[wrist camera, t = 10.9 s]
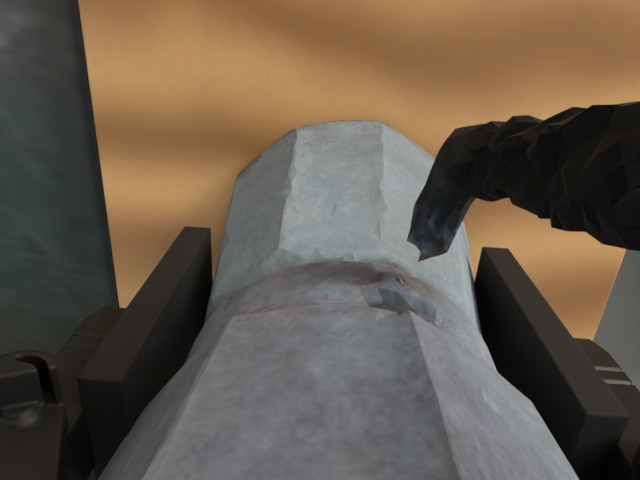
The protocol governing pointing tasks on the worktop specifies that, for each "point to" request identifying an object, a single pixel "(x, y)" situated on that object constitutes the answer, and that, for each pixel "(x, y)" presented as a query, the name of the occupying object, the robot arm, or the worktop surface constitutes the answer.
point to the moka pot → (377, 306)
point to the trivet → (342, 107)
